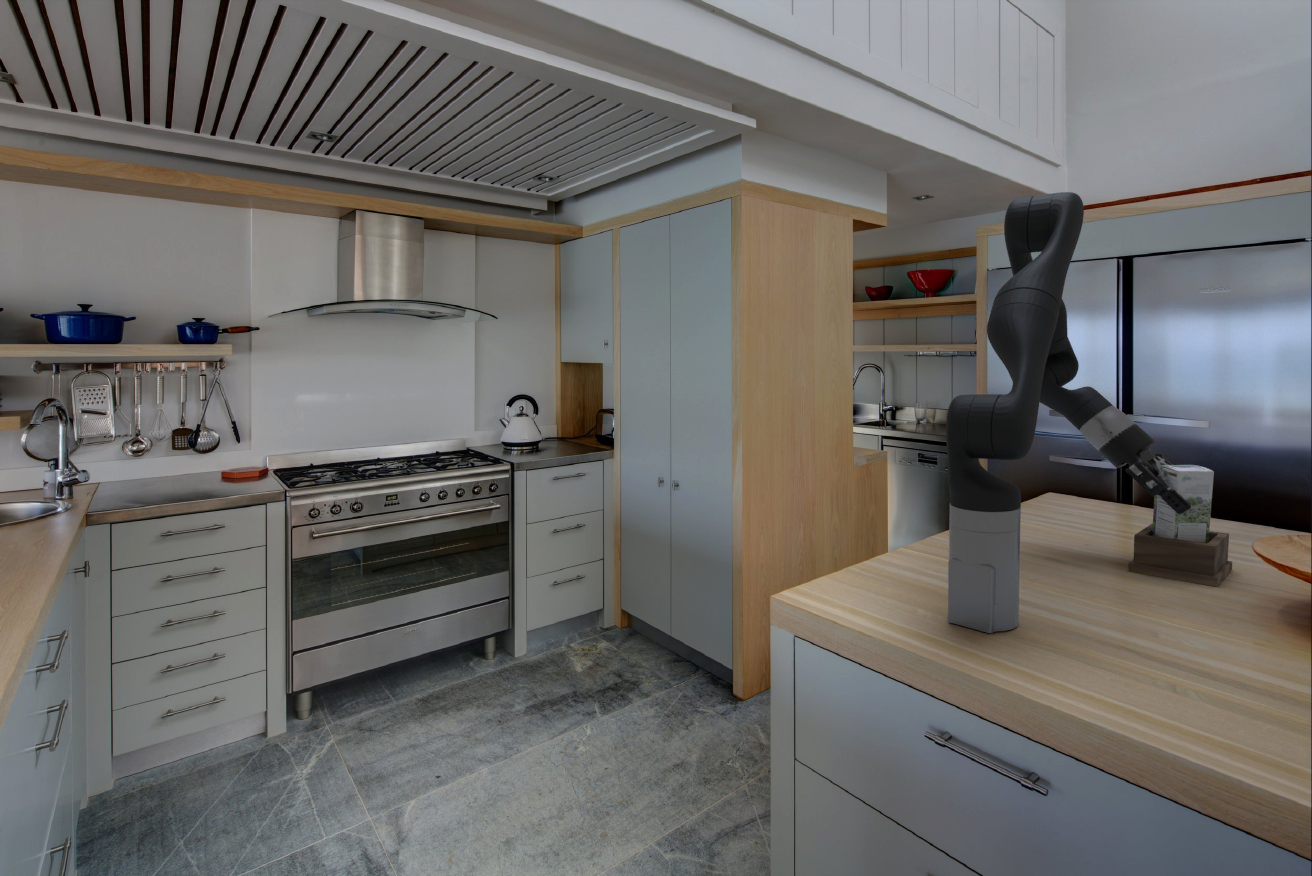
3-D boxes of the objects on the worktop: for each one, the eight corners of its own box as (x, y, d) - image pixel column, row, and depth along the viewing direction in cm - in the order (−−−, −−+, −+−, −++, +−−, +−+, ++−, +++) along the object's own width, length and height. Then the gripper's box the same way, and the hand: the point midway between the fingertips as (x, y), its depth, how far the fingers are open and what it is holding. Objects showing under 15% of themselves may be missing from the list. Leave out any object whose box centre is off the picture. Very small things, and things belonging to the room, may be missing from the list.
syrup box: (1185, 543, 116) (1189, 463, 114) (1209, 553, 110) (1214, 468, 109) (1150, 543, 117) (1154, 464, 115) (1173, 553, 111) (1177, 469, 109)
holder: (1216, 586, 105) (1218, 547, 105) (1128, 571, 114) (1129, 535, 114) (1231, 569, 113) (1233, 533, 112) (1147, 556, 122) (1149, 522, 121)
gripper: (1121, 426, 112) (1203, 500, 105) (1145, 419, 121) (1222, 487, 114) (1084, 454, 117) (1161, 527, 109) (1110, 445, 126) (1182, 512, 118)
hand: (1192, 506), depth 111 cm, fingers closed on syrup box, 8 cm apart
